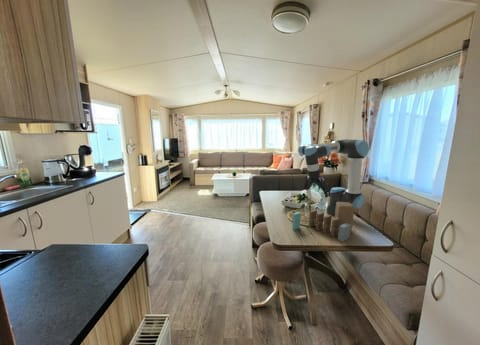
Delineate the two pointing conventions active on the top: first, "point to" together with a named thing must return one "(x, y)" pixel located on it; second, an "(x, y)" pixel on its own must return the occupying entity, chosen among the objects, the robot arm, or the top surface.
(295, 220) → the domino
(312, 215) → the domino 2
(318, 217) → the domino
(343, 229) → the end stop
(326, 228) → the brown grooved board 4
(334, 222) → the domino
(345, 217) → the block
